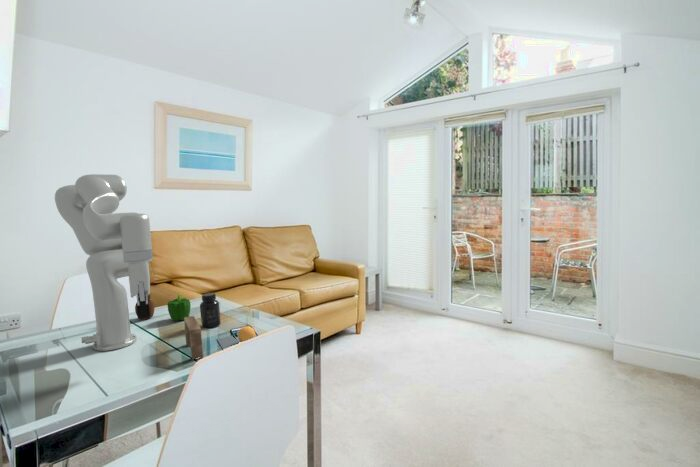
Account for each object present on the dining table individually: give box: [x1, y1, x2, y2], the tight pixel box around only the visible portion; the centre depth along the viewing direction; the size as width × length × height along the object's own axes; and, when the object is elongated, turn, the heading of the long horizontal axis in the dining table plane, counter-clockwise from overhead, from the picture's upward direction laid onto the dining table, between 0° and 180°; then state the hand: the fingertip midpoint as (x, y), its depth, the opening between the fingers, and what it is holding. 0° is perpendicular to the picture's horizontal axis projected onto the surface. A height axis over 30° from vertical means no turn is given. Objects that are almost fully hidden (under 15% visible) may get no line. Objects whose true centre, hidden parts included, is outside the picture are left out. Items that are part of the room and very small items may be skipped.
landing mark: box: [216, 335, 240, 350], centre depth 130 cm, size 12×12×1 cm
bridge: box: [183, 315, 204, 361], centre depth 122 cm, size 3×14×9 cm, turn 29°
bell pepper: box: [167, 293, 191, 322], centre depth 154 cm, size 8×8×10 cm
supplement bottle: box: [199, 292, 221, 329], centre depth 146 cm, size 7×7×12 cm
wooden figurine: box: [134, 293, 155, 320], centre depth 157 cm, size 7×6×15 cm
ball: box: [237, 325, 256, 342], centre depth 127 cm, size 6×6×6 cm
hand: (143, 317), depth 115 cm, fingers closed
